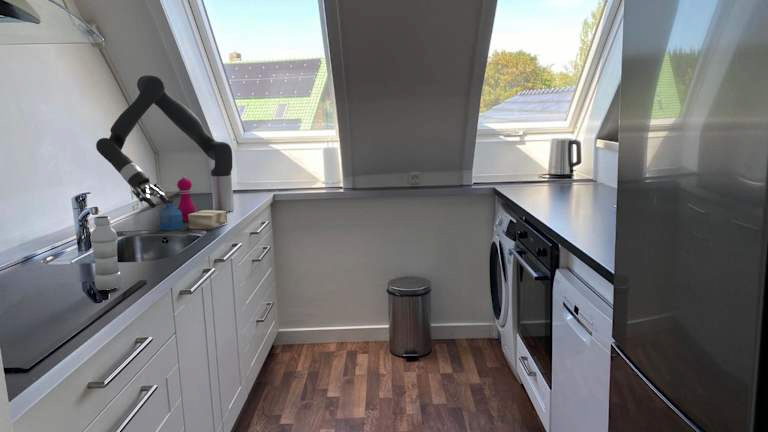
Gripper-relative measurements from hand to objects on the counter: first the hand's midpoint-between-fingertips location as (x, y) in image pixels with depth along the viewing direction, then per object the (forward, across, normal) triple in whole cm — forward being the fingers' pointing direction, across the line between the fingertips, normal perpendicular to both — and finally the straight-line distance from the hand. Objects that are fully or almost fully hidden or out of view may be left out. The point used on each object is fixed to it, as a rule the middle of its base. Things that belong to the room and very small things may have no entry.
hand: (161, 205), depth 229 cm
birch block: (+19, +7, -4) cm, 21 cm away
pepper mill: (+7, +17, +7) cm, 20 cm away
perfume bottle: (+10, 0, +4) cm, 11 cm away
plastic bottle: (+33, -75, -19) cm, 84 cm away
